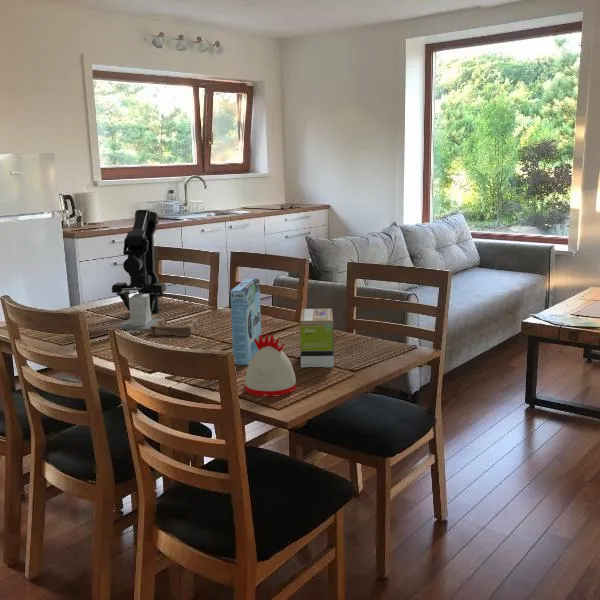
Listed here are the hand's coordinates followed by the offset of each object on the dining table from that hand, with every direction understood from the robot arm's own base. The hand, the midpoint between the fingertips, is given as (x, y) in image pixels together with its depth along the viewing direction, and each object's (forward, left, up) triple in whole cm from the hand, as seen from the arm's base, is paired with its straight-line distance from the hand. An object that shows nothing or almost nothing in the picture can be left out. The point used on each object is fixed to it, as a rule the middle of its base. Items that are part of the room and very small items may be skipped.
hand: (140, 310), depth 246 cm
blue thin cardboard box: (+35, +46, -6) cm, 58 cm away
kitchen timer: (+63, +57, -6) cm, 85 cm away
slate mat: (0, 0, -6) cm, 6 cm away
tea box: (+38, +68, -6) cm, 78 cm away
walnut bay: (+6, +15, -6) cm, 17 cm away
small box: (0, 0, -5) cm, 5 cm away
